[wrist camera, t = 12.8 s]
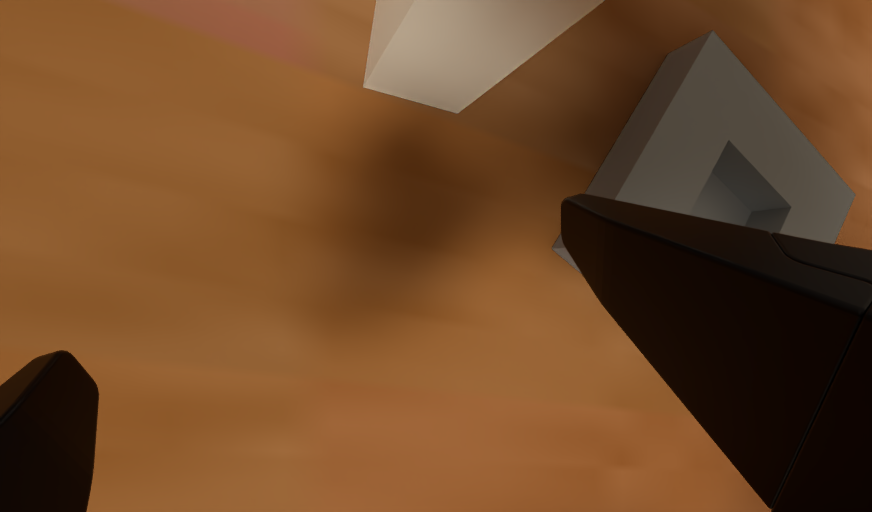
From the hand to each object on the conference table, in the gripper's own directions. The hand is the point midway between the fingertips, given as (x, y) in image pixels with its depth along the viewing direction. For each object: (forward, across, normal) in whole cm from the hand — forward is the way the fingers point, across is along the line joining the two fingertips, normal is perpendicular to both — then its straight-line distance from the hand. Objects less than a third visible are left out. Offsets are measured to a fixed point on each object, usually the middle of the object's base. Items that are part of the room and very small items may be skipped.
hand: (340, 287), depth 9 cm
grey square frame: (+9, -17, +9) cm, 21 cm away
